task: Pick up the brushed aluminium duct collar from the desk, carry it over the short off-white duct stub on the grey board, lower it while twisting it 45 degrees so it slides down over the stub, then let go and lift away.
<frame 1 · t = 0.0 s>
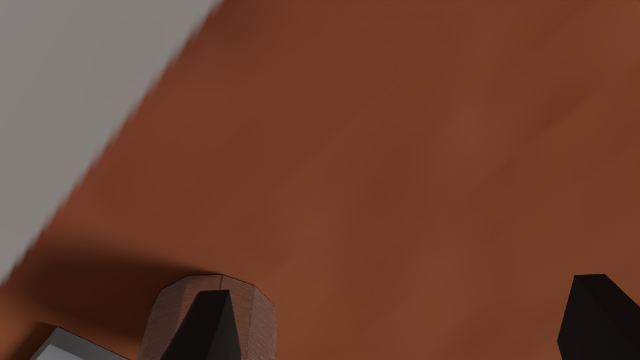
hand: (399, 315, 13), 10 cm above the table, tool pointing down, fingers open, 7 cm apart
collar: (214, 319, 27), on the table
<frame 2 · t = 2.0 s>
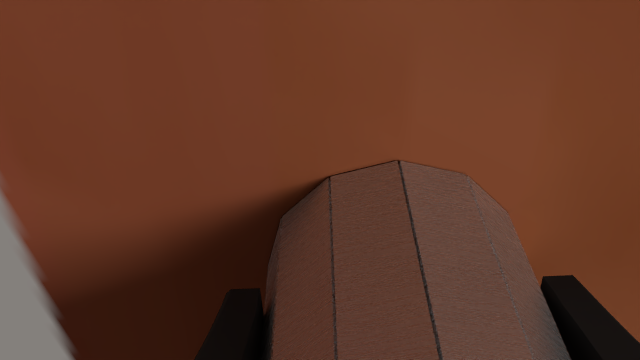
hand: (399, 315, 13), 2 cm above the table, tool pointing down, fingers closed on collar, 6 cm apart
collar: (391, 263, 14), on the table, touching gripper
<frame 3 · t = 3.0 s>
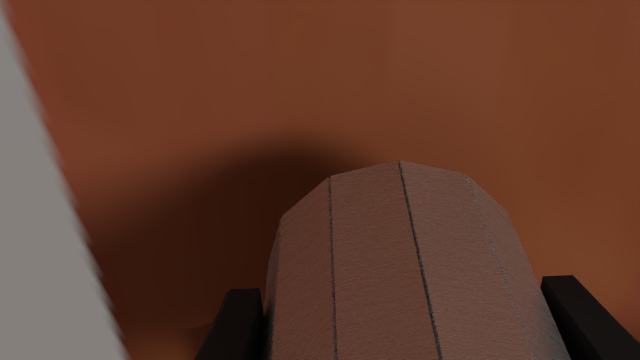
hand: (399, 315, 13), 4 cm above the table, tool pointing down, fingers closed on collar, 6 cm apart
collar: (391, 263, 14), point 3 cm above the table, touching gripper
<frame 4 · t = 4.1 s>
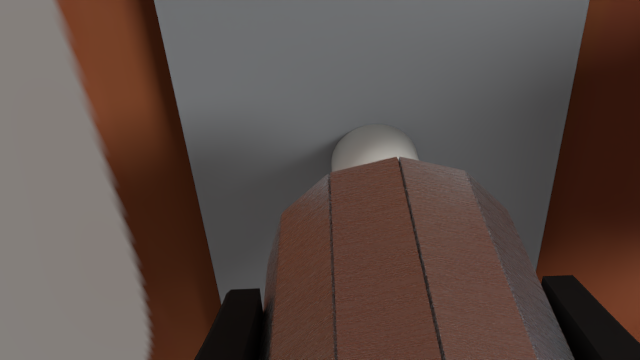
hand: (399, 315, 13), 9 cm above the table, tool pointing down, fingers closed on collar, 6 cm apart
duct board: (371, 145, 20), on the table
collar: (390, 261, 14), point 7 cm above the table, touching gripper
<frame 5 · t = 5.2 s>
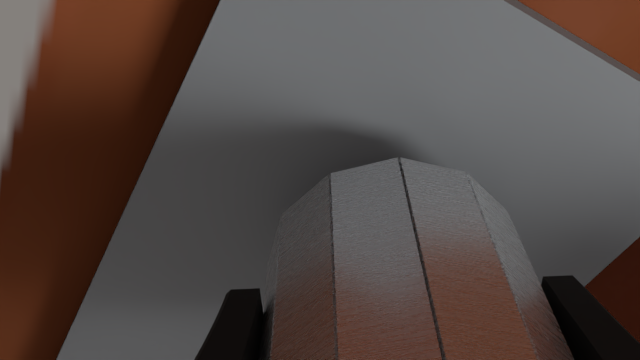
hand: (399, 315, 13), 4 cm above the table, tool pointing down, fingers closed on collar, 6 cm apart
duct board: (383, 200, 16), on the table
collar: (391, 262, 14), point 2 cm above the table, touching gripper
when the fingers open (4 cm above the table, at t = 6.3 s): collar stays where it is, resting on duct board.
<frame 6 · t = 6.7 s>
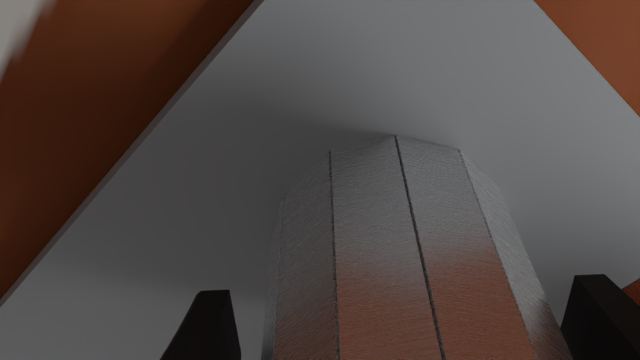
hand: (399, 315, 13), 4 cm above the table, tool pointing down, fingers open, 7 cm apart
duct board: (383, 211, 16), on the table
collar: (388, 235, 15), point 1 cm above the table, touching duct board
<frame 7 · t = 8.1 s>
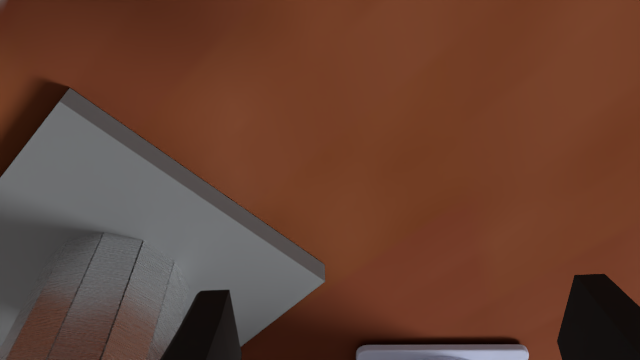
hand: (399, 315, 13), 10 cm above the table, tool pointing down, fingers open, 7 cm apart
duct board: (123, 270, 25), on the table
collar: (117, 287, 25), point 1 cm above the table, touching duct board
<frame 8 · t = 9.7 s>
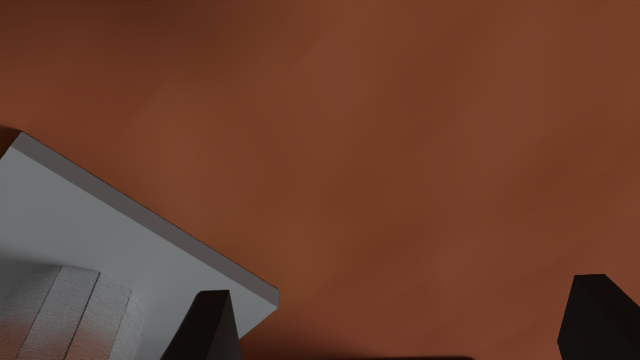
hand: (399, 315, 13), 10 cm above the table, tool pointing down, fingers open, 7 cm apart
duct board: (86, 298, 26), on the table
collar: (79, 315, 26), point 1 cm above the table, touching duct board
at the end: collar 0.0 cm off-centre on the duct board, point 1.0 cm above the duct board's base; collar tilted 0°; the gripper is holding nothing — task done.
